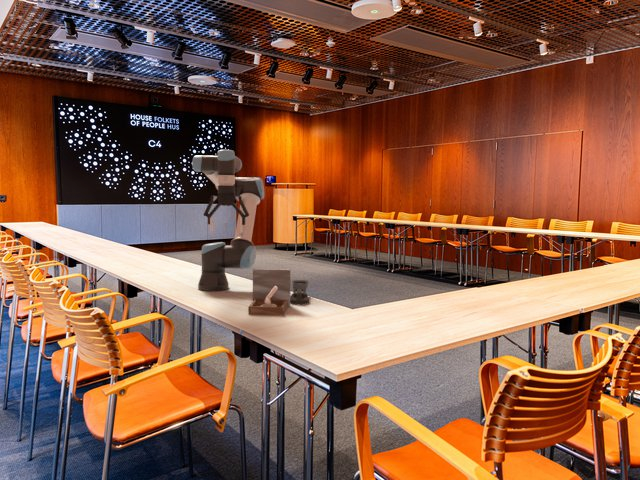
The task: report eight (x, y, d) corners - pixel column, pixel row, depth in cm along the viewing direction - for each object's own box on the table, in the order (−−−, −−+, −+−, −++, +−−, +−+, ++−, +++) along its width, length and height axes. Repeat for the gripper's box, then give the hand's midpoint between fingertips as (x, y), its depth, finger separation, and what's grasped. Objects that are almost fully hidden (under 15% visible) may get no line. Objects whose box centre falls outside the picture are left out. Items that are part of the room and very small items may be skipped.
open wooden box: (253, 304, 208) (253, 268, 207) (290, 305, 208) (290, 269, 206) (245, 314, 192) (246, 274, 190) (285, 315, 191) (286, 275, 190)
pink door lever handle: (288, 299, 194) (274, 290, 192) (271, 321, 196) (257, 312, 194) (288, 291, 201) (274, 282, 199) (271, 313, 203) (257, 304, 201)
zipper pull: (309, 280, 235) (309, 290, 210) (309, 293, 236) (309, 304, 211) (291, 279, 235) (288, 289, 210) (291, 293, 236) (288, 304, 211)
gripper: (196, 184, 211) (197, 232, 213) (252, 185, 211) (252, 233, 213) (200, 184, 218) (201, 230, 221) (255, 185, 218) (255, 231, 221)
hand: (226, 232), depth 217 cm, fingers open, 13 cm apart
